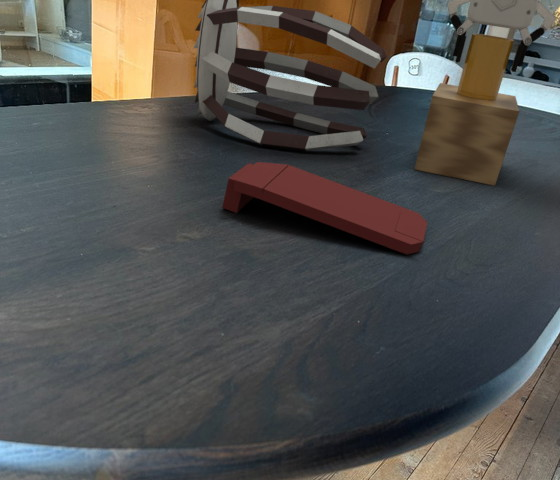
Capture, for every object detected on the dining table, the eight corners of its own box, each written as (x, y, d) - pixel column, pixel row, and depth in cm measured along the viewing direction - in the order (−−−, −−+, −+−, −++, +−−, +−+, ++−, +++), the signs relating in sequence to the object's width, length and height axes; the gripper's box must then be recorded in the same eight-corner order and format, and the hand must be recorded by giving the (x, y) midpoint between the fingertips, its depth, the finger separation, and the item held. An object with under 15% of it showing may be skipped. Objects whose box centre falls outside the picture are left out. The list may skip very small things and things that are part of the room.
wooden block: (494, 162, 115) (515, 96, 108) (495, 185, 101) (519, 111, 94) (423, 148, 118) (439, 82, 111) (414, 169, 103) (432, 95, 96)
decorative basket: (214, 103, 126) (371, 147, 121) (156, 127, 104) (344, 182, 99) (229, -32, 111) (407, 11, 106) (165, -36, 90) (385, 18, 85)
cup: (495, 96, 104) (513, 39, 99) (496, 102, 99) (514, 41, 94) (457, 89, 106) (472, 32, 101) (455, 94, 100) (471, 34, 95)
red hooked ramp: (413, 249, 81) (246, 186, 83) (428, 216, 78) (255, 152, 80) (405, 284, 71) (216, 212, 73) (422, 248, 68) (224, 173, 70)
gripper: (462, -68, 88) (432, 60, 98) (582, -53, 85) (539, 77, 95) (464, -64, 94) (435, 56, 104) (576, -50, 91) (536, 73, 101)
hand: (485, 66), depth 100 cm, fingers open, 9 cm apart
